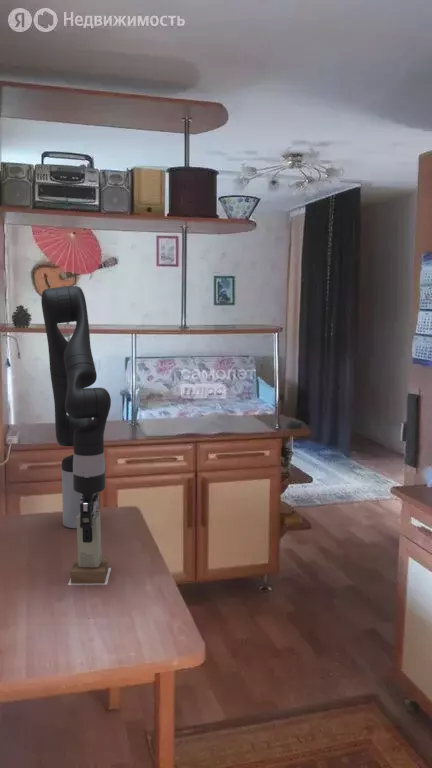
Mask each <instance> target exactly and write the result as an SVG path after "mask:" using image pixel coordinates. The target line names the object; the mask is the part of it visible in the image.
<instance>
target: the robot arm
mask: <svg viewBox="0 0 432 768" xmlns="http://www.w3.org/2000/svg"><path fill="white" fill-rule="evenodd" d="M40 297H41V298H40V300H41V301H40V302H41V309H42V316H43V321H44V327H45V334H46V339H47V347H48V359H49V371H50V372H49V373H50V381H51V387H52V394H53V395H52V396H53V401H54V422H55V423H54V424H55V437H56V442H57V444H58V445H59V446H61V447H73V454H71V455H68V456H66V457H64V458H63V459H62V460H61V488H62V489H61V490H62V491H61V492H62V495H61V496H62V502H61V503H62V525H63V526H64V527H65V528H69V529H77V523H76V517H77V516H78V514H79V513H80V528H82V529H83V542H84V543H91V542H92V526H93V518H95V513H96V512H99V507H100V503H99V499H100V497H99V493H101V492H103V491H104V490H105V488H106V461H105V460H106V458H105V453H104V451H105V449H104V448H105V447H104V445H105V444H104V440H105V439H104V434H105V429H106V426H107V425H106V423H107V420H108V417H109V413H110V411H111V410H110V409H111V405H112V404H111V403H112V400H111V395H110V394H109V391H108V390H107V389H106V388H105V387H91V386H92V385H93V384H95V383H96V381H97V378H98V377H97V371H96V366H95V361H94V357H93V353H92V346H91V336H90V334H91V333H90V324H89V315H88V308H87V300H86V297H85V293H84V291H83V289H82V287H80V286H77V285H70V286H60V287H52V288H51V287H50V288H45V289H44V290H43V291H42V293H41V296H40ZM74 322H76V324H75V329H74V331H73V333H72V335H71V337H70V339H69V340H67V339H66V338H65V336H63V333H62V332H61V330H60V328H59V326H58V324H65V323H74ZM91 513H92V514H91ZM85 518H88V519H89V522H84V521H85Z"/></svg>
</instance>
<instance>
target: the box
mask: <svg viewBox="0 0 432 768" xmlns="http://www.w3.org/2000/svg"><path fill="white" fill-rule="evenodd" d="M91 514H92V513H91ZM84 522H89V519H88V518H85V521H84ZM76 523H77V528H76V540H77V541H76V542H77V543H76V544H77V558H78V567H91V568H94V567H99V565H100V563H101V561H102V558H103V556H102V555H103V554H102V553H103V549H102V528H101V527H102V524H101V512H100V511H98V512H96V513H95V518H93V526H92V542H91V543H84V542H83V529H82V528H80V513H79V514H78V516H77V517H76Z"/></svg>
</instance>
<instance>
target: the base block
mask: <svg viewBox="0 0 432 768" xmlns="http://www.w3.org/2000/svg"><path fill="white" fill-rule="evenodd" d="M108 568H109V557H102V561H101V563H100V565H99V567H94V568H91V567H78V557H76V558H75V559H74V562H73V565H72V568H71V570H70V578H71V584H96V583H105V580H106V576H107V573H108Z"/></svg>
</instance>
